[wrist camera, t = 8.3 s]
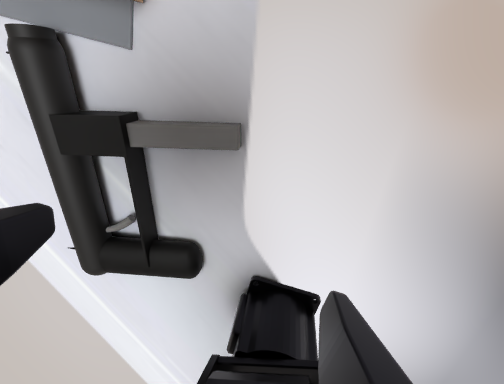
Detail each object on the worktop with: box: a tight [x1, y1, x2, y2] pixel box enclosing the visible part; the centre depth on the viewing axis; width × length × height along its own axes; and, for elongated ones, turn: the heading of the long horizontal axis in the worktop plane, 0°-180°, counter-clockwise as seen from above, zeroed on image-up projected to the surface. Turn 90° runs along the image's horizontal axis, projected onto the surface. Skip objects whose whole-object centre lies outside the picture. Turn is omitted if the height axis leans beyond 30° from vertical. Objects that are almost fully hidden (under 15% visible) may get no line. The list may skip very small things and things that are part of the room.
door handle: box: [5, 24, 241, 279], centre depth 20 cm, size 3×20×16 cm
